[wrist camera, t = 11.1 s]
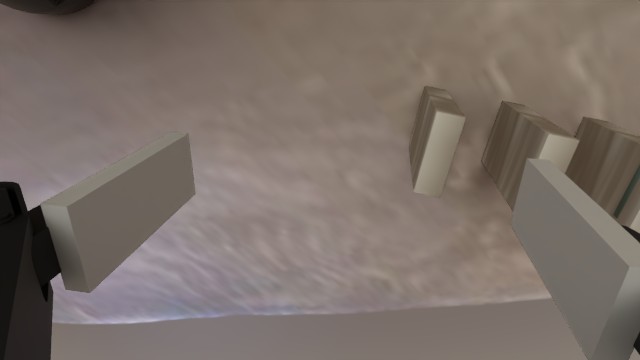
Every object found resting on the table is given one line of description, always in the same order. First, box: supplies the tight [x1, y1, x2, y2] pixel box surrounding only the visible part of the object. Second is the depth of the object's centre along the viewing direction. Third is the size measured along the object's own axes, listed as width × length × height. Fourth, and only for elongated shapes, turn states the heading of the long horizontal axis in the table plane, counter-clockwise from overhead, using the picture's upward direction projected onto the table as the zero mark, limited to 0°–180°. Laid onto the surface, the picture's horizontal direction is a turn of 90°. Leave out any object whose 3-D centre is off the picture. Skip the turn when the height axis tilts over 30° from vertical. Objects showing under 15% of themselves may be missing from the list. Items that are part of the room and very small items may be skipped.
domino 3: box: [565, 117, 640, 233], centre depth 26 cm, size 2×5×10 cm, turn 170°
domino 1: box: [409, 86, 466, 198], centre depth 27 cm, size 2×5×10 cm, turn 171°
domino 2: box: [481, 101, 580, 211], centre depth 26 cm, size 2×5×10 cm, turn 171°
